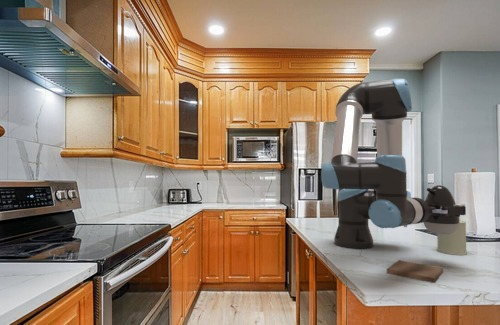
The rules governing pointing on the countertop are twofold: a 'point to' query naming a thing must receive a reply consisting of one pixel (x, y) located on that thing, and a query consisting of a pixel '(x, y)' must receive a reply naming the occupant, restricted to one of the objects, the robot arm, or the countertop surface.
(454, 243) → the can
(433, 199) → the pump dispenser
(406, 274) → the walnut board
